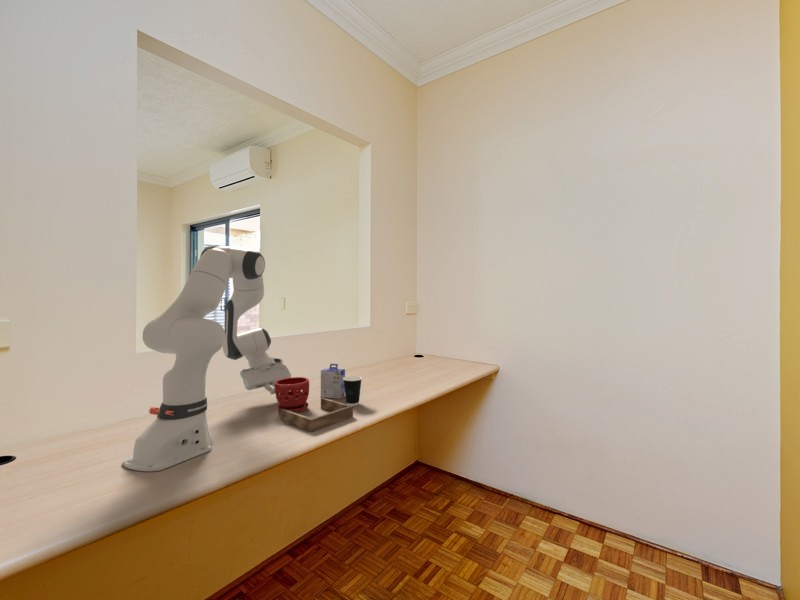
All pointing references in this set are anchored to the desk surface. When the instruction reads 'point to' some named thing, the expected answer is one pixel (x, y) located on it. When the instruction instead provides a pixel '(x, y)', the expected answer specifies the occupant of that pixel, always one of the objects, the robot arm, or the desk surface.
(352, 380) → the dixie cup
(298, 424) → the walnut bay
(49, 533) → the desk surface
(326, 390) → the ink cartridge box
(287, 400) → the plant pot
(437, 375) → the desk surface
